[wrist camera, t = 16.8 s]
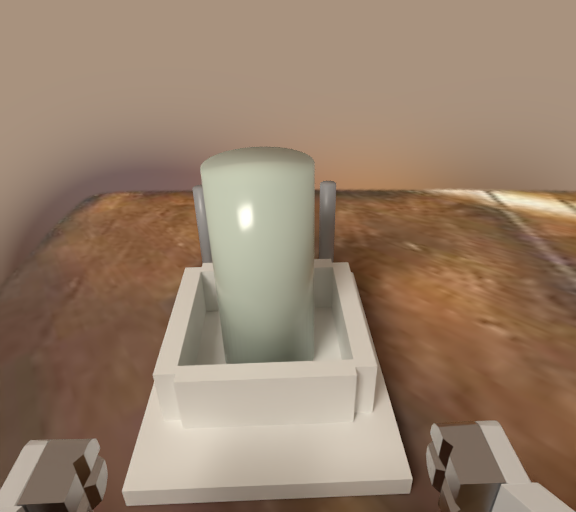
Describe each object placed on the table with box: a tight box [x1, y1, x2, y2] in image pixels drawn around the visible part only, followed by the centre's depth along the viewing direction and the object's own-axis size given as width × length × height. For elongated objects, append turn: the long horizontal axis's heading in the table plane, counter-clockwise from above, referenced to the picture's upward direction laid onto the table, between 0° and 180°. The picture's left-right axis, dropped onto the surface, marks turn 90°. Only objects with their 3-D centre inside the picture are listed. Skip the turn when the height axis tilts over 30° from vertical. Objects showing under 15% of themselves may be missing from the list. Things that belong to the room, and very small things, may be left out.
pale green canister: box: [200, 147, 314, 364], centre depth 23 cm, size 5×5×11 cm
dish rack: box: [122, 181, 413, 506], centre depth 24 cm, size 12×16×8 cm
